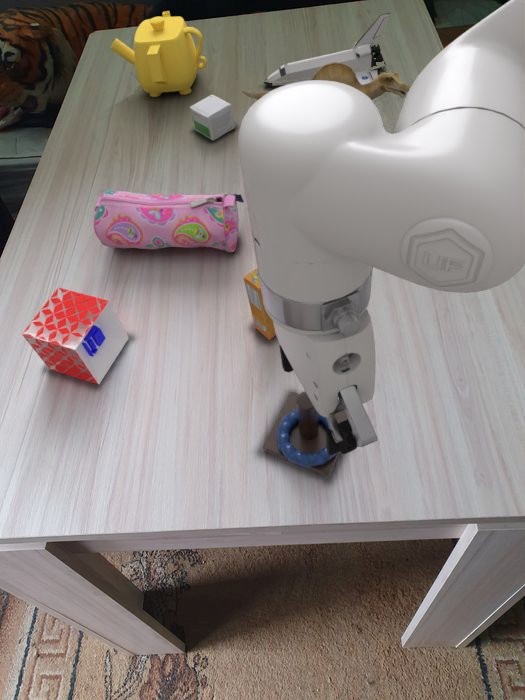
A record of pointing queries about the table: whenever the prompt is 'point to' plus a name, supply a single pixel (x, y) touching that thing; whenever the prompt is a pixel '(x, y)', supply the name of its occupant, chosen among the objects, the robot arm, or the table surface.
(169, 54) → the teapot
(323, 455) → the ring
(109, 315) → the red patterned cube box
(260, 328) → the supplement box
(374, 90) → the dinosaur figurine
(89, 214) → the table surface
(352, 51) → the space shuttle model
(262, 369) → the table surface
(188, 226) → the pencil case
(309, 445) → the peg
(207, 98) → the small box
